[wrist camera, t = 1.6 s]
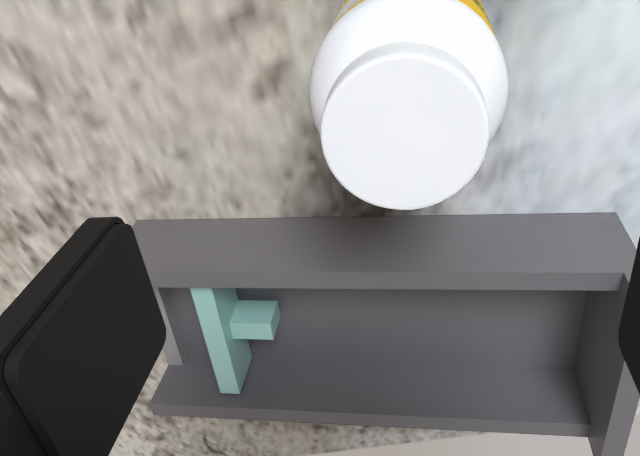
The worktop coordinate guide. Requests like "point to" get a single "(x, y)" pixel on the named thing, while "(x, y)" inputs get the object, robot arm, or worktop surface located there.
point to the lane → (407, 321)
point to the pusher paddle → (233, 331)
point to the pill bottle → (408, 98)
